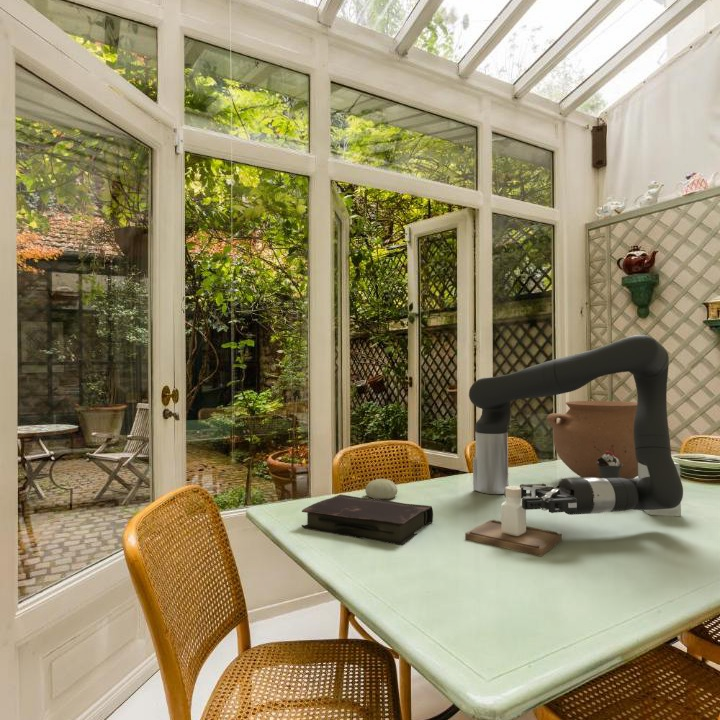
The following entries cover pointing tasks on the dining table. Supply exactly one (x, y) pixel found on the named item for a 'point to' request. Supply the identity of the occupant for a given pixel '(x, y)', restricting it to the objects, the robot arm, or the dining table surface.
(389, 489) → the sea urchin shell
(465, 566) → the dining table surface
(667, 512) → the supplement box
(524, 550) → the walnut board
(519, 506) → the salt shaker
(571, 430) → the clay pot
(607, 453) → the sundae
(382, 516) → the diary
